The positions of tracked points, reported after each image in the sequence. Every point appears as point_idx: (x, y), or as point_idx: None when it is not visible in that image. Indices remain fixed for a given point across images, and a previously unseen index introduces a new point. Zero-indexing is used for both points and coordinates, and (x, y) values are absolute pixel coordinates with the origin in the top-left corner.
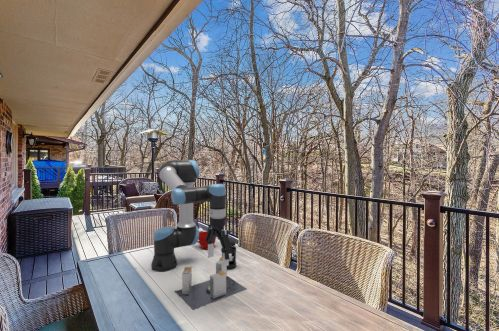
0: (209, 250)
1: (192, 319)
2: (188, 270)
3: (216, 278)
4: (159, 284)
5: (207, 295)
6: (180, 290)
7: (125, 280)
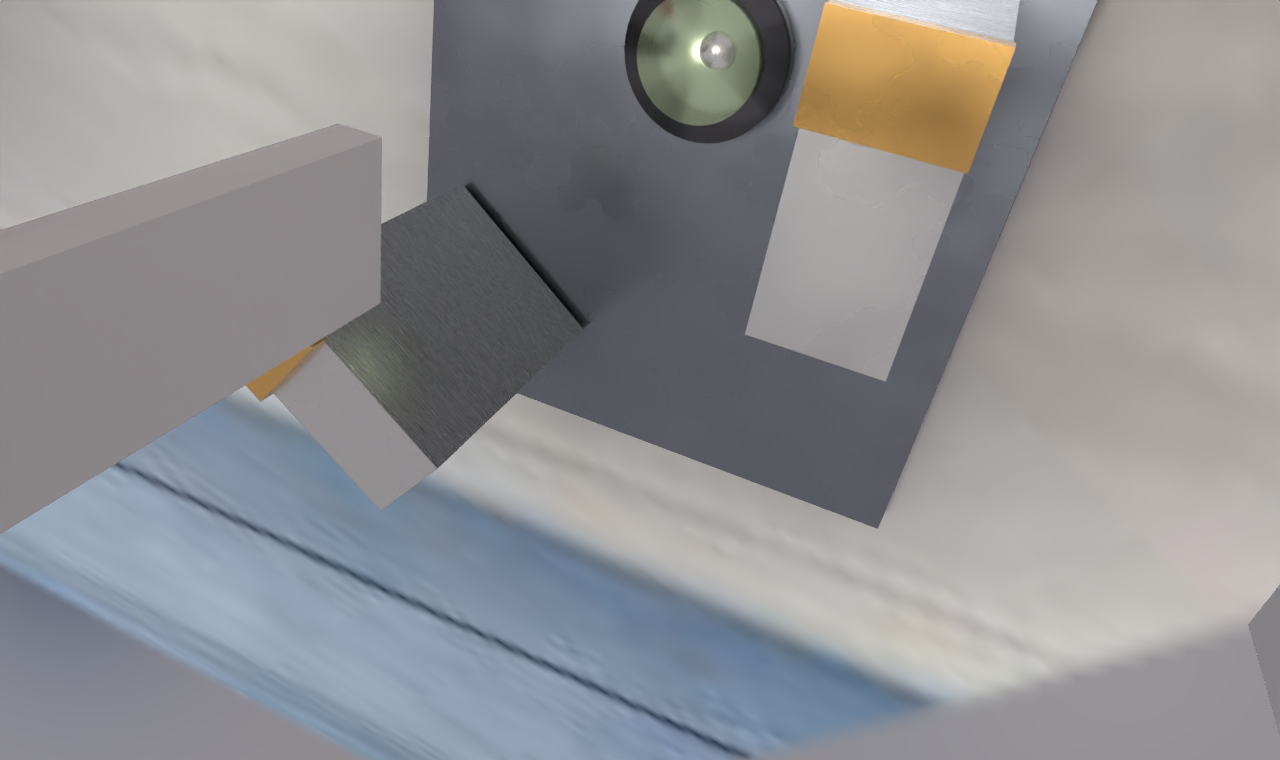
0: (209, 380)
1: (970, 593)
2: (325, 375)
3: (914, 304)
4: None
5: (777, 201)
6: None
7: None
